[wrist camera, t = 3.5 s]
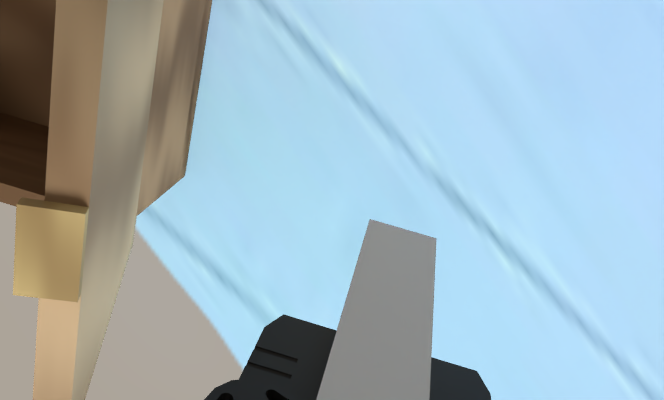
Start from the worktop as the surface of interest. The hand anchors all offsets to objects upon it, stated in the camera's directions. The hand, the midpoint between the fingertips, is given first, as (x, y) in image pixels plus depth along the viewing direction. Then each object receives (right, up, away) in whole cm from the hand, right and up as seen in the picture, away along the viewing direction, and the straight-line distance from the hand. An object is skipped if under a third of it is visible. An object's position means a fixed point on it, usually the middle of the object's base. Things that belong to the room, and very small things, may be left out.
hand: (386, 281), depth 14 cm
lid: (-8, +3, +2) cm, 9 cm away
